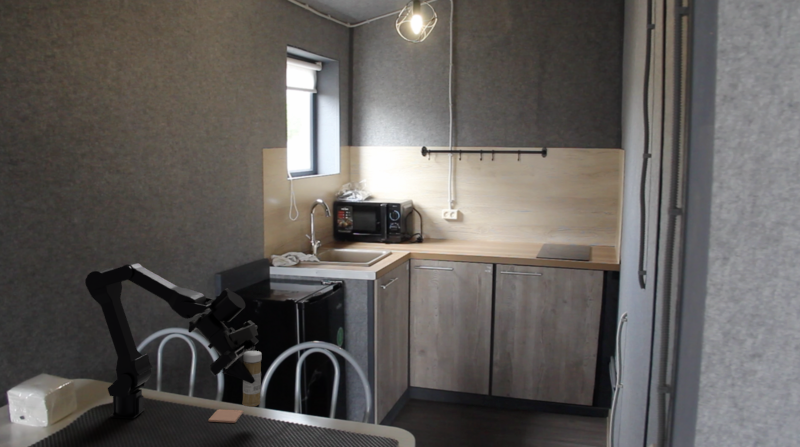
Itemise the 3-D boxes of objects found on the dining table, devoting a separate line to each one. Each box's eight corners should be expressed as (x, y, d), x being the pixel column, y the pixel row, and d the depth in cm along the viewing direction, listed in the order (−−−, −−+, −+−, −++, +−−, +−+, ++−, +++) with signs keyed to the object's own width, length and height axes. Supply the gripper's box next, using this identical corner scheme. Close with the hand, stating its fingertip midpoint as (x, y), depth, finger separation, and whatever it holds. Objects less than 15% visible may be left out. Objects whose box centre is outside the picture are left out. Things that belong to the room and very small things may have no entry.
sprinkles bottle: (255, 399, 155) (256, 349, 154) (263, 405, 152) (264, 353, 151) (239, 403, 153) (240, 351, 152) (246, 408, 149) (248, 356, 148)
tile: (208, 421, 154) (208, 419, 154) (217, 411, 161) (217, 409, 161) (235, 422, 154) (235, 421, 154) (243, 412, 161) (243, 410, 161)
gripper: (223, 321, 142) (266, 370, 141) (252, 305, 160) (290, 349, 160) (191, 351, 143) (233, 400, 143) (223, 332, 162) (261, 375, 161)
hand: (257, 379), depth 152 cm, fingers closed on sprinkles bottle, 4 cm apart
